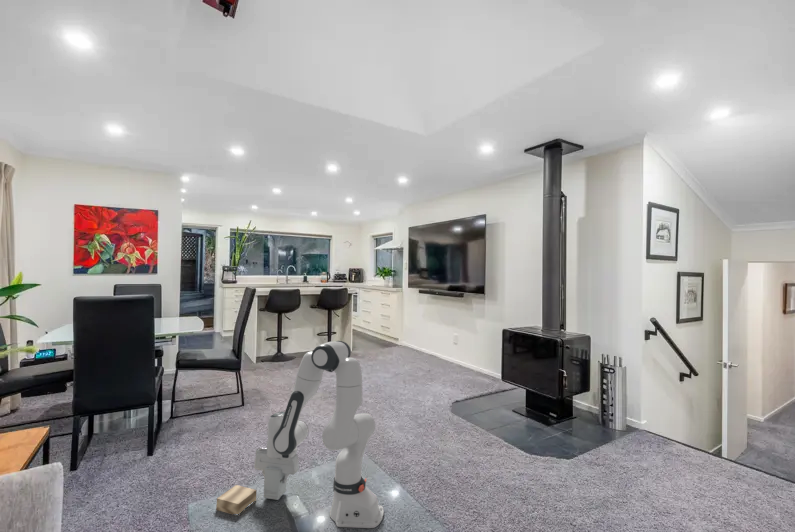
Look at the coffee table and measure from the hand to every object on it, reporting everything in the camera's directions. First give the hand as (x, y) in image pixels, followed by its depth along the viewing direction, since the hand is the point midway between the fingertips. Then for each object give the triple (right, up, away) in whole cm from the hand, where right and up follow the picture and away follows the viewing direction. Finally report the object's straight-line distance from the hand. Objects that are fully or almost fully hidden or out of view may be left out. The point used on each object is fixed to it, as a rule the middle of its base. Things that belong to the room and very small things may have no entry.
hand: (275, 481), depth 164 cm
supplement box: (0, -6, 0) cm, 6 cm away
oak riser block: (-14, -6, -7) cm, 17 cm away
